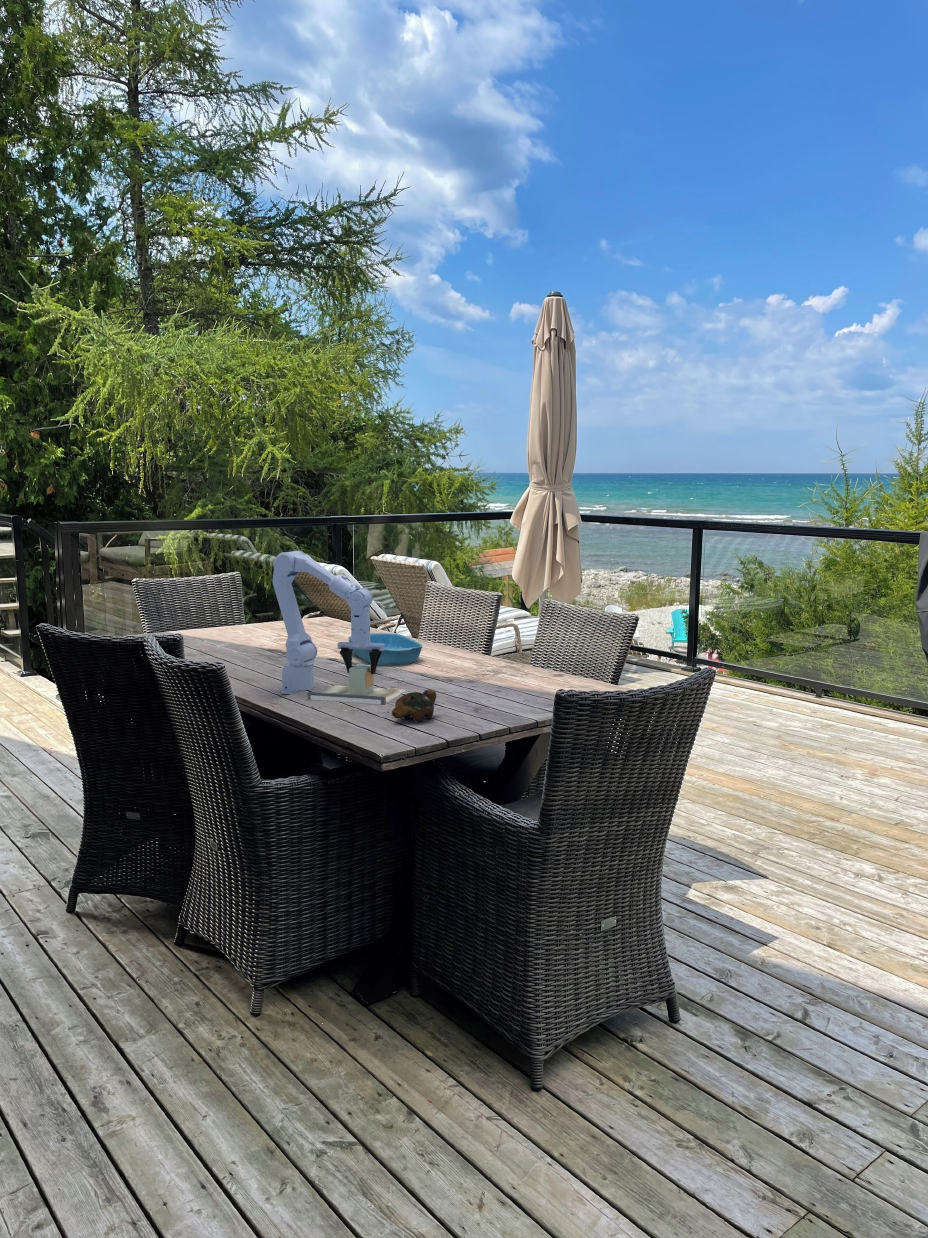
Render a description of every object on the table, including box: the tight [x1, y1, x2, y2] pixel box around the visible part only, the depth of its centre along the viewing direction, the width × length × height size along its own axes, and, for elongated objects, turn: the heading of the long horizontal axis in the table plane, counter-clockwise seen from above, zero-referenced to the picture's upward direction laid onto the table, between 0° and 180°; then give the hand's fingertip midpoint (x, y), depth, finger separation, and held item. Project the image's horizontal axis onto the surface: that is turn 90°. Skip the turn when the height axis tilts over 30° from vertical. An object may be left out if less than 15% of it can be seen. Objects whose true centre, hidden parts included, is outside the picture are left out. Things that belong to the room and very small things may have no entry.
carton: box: [348, 663, 374, 695], centre depth 276 cm, size 5×7×8 cm
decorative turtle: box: [391, 689, 437, 723], centre depth 250 cm, size 10×15×8 cm, turn 138°
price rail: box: [307, 691, 387, 705], centre depth 265 cm, size 24×1×4 cm, turn 75°
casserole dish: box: [348, 632, 423, 667], centre depth 339 cm, size 37×22×7 cm, turn 25°
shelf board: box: [320, 685, 407, 704], centre depth 275 cm, size 24×18×2 cm
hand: (361, 673), depth 276 cm, fingers open, 7 cm apart
